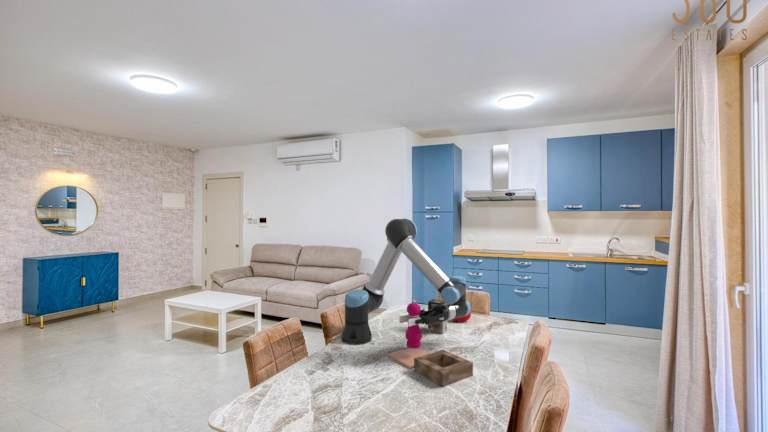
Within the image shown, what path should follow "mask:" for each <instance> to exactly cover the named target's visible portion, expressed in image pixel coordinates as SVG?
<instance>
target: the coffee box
mask: <svg viewBox="0 0 768 432" xmlns="http://www.w3.org/2000/svg"><path fill="white" fill-rule="evenodd" d="M442 304H446V303H445V302H444V301H443V300H442V299H435V298H432V299H430V300H429V301H427V311H428V310H432V309H433V308H434V306H437V305H442ZM447 331H448V321H444V322H436V323H432V324H428V325H427V332H431V333H436V334H440V335H444V334H445V333H446V332H447Z"/></svg>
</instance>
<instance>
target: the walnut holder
mask: <svg viewBox="0 0 768 432" xmlns="http://www.w3.org/2000/svg"><path fill="white" fill-rule="evenodd" d="M429 353H430V354H427V355H424V356H420V357H417V358H414V368H413V371H414V372H415V373H417V374H419V375H420V376H422V377H424V378H426V379H428V380H430V381H432V382H433V383H435V384H436V385H439V386H441V387H442V388H445V387H447V386H449V385H452V384H454V383H457V382H460V381H462V380H465V379H468V378H470V377H472V376H474V374H473V373H474V362H473V361H470V360H468V359H466V358H464V357H461V356H459V355H456V354H455V353H452V352H449V351H447V350H445V349H441V350H438V351H434V352H429Z"/></svg>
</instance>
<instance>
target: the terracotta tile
mask: <svg viewBox="0 0 768 432" xmlns="http://www.w3.org/2000/svg"><path fill="white" fill-rule="evenodd" d="M430 353H431V352H428V351H426V350H424V349H421V347H420V348H415V349H414V348H409V347H407V348H403V349H400V350H396V351H393V352H389V353H387V354H386V357H388V358H390V359H391V360H394V361H395V362H397V363H399V364H401V365H403V366H405V368H407V369H410V370H412V369H413V370H414V358H417V357H420V356H424V355H427V354H430Z"/></svg>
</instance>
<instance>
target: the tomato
mask: <svg viewBox="0 0 768 432" xmlns="http://www.w3.org/2000/svg"><path fill="white" fill-rule="evenodd" d="M471 316H472V310H471V311H470V313H469V314H468V315H467V316H464V317H460V318H455V319H452V320H453V321H455V322H458V323H459V322H460V323H462V322H467V321H468V320H470V318H471Z"/></svg>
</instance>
